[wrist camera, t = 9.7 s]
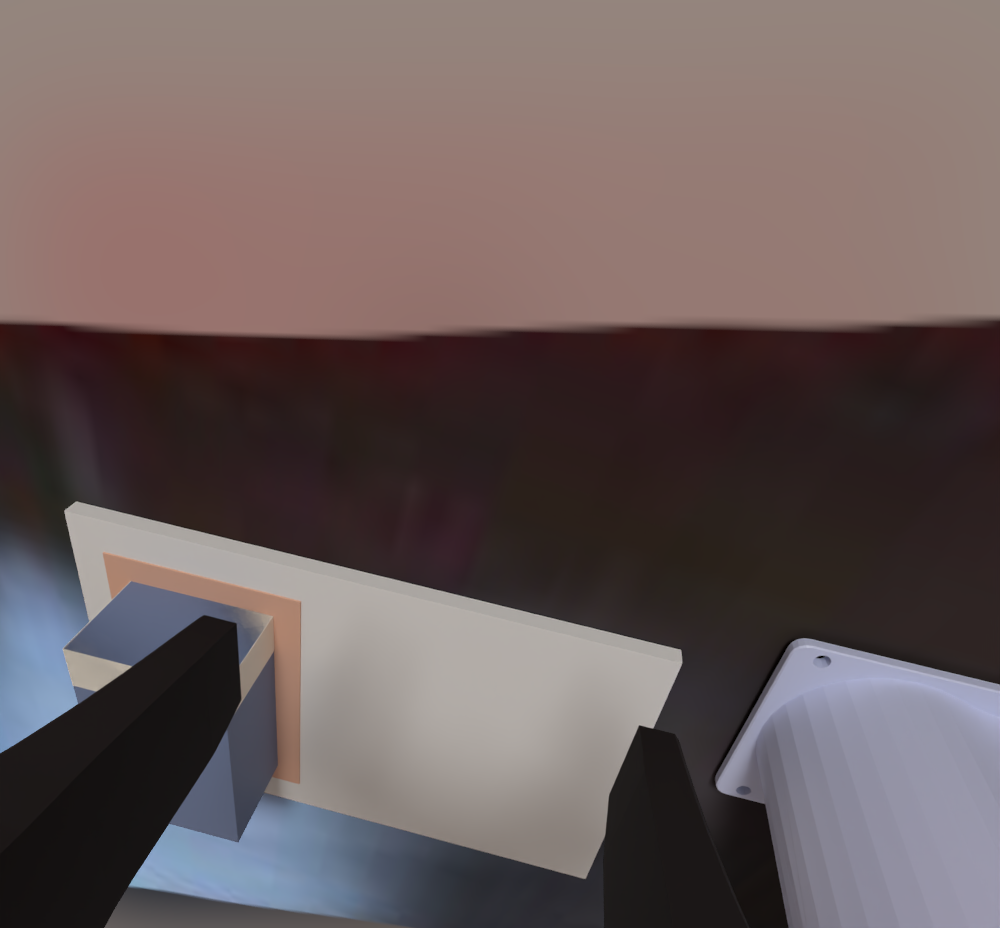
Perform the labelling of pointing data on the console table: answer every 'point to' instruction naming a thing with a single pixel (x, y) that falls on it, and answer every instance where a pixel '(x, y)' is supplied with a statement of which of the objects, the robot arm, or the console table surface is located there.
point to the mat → (413, 691)
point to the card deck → (252, 731)
